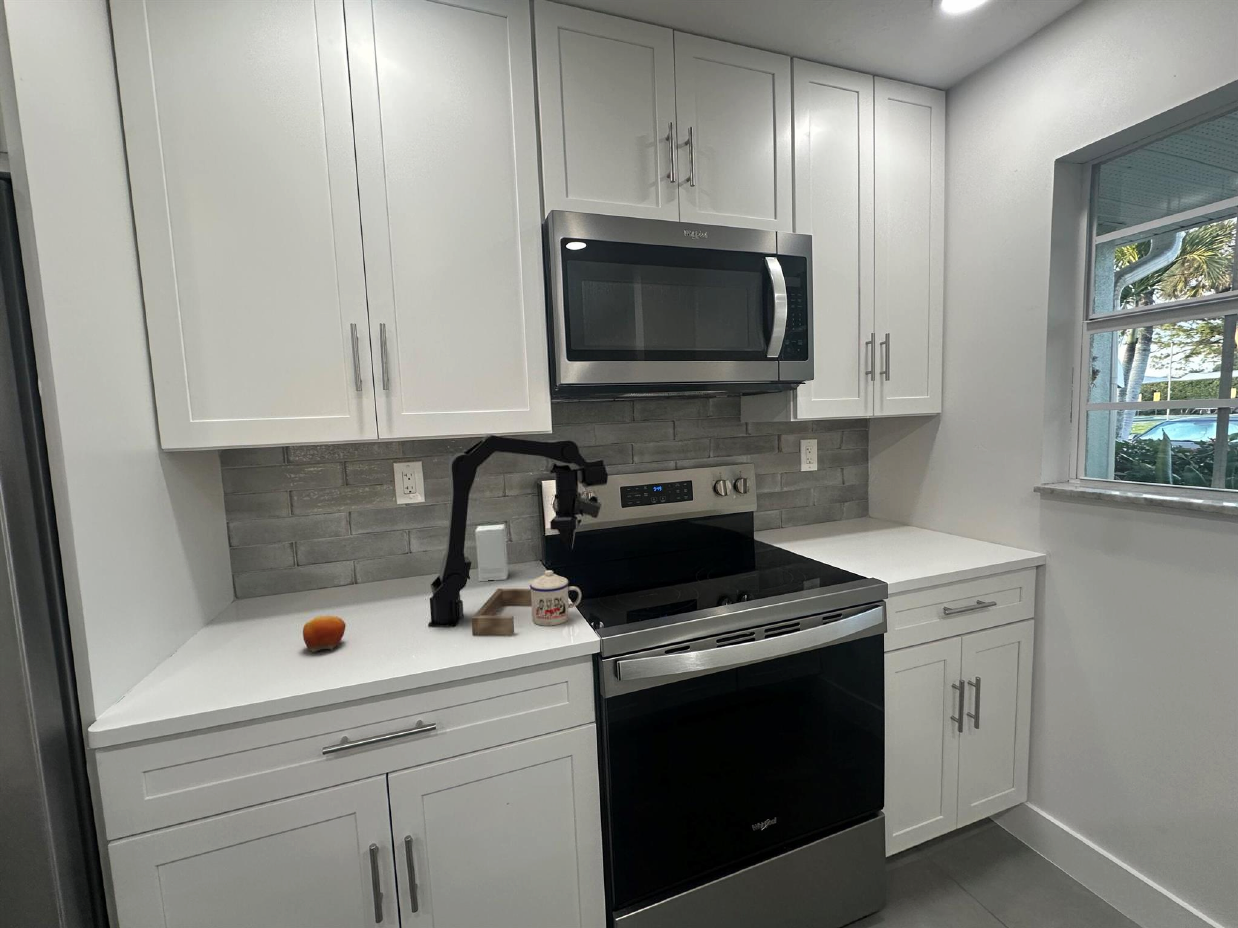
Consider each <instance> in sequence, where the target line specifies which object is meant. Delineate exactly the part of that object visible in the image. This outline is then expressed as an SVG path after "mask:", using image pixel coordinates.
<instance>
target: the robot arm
mask: <svg viewBox="0 0 1238 928" xmlns="http://www.w3.org/2000/svg"><path fill="white" fill-rule="evenodd" d="M495 452H498V453H509V454H515V455H516V454H517V455H525V456H526V455H527V456H535V457H536V456H538V457H542V458H545V459H548V460H552V461H555V463H554V462H552V463H551V465H550V466H549V467H548V468H547V469H546V472H547V473H549V474H554V481H555V493H554V500H555V501H556V510H555V516H554V517H553V518H552V519H551V520H550V522H549V523H550V527H549V528H550V530H552V531H555V530H556V531H558V533H559V535H560V537H561V540H562V541H563V543H564V544H565V547H566V548H567V550H568V551H569V550H573V548H574V542H575V537H576V536H575V535H576V529H578V527H579V526H580V525H581V523H582V520H583V519H578V516H579V515H581V517H584V516H585V515H587V516H590V517H591V518H594V519H597V518H598V517H599V514H600V511H601V508H602V505H603V504H602V502H599V498H598V496H595V495H591V496H590V497H589V499H588V497H586V498H585V497H582V494H581V492H580V491H579V485H582V487H583V488H592V487H600V486H601V487H604V486H606V485H607V483H608V478H609V476H608V472H607V468H606V466H605V465H604V464H605V463H604V460H603V459H594V460H589V461H588V460H585V458H584V457H583V456H582V455H581V453H580V450H579V446H578V445H577V444H576V442H574V441H572V440H568V439H552V440H550V439H549V440H539V441H537V440H532V439H531V440H530V439H529V440H528V439H521V438H513V437H504V436H497V435H495V434H486V435H485V436H483V437H482V438H481V439H480V440H479V441H478V442H477V443H475V444H474V445H472V446H471V447H469V448H468V449H466V450H465V451H464V452H463V453H462V452H460V453H459V452H458V453H455V454H453V456H451V457H450V458H449V461H448V474H449V482H450V489H451V490H450V491H451V495H450V496H451V497H450V505H449V506H450V508H449V510H450V511H449V519H448V529H447V531H448V532H447V541H446V550H445V552H444V555H443V558H442V560H441V565H440V568H439V572H438V575H437V577H436V578H435V579H434V580H433V581H432V582H431V583H430V585H429V586H430V589H431V593H432V596H431V597H429V606H430V607H429V610H430V621H429V622H428V624H427V626H428V627H455V626H457V625H458V624H459V622H460V621H462V620H463V618H465V614H464V602H463V600H462V598H461V593H460V591H462V590H463V589H464V588H465V587H466V586H467V582H468V580H469V581H470V580H471V575H470V570H471V565H472V561H471V560H470V557H469V556H465V541H466V531H467V520H468V510H469V509H468V508H469V498H470V492H471V490H472V487H473V485H474V481H475V478H476V474H477V472H478V471H477V470H478V468H479V467H480V466H481V465H482V464H483V463H484V462H486V461H487V460H488V459H489V458H490V457H491V455H493V454H495ZM556 461H557V462H560V463H564V464H561V465H558V464H557V463H556ZM570 465H573V466H576V467H572V468H571V466H570Z"/></svg>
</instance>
